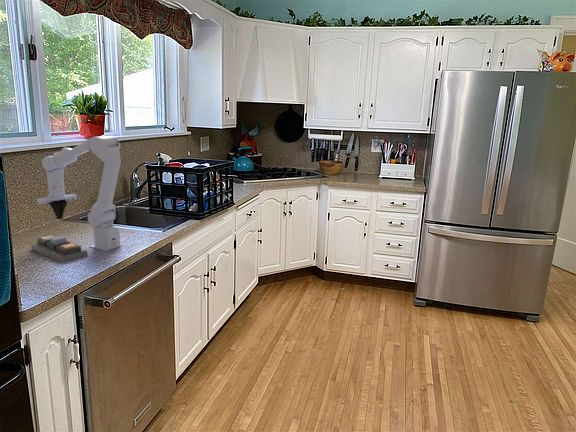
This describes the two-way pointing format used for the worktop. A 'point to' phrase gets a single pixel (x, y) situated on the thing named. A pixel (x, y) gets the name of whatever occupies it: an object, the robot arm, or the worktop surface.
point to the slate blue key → (57, 240)
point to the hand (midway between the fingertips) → (59, 218)
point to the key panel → (58, 250)
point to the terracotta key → (68, 246)
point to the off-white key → (46, 238)
